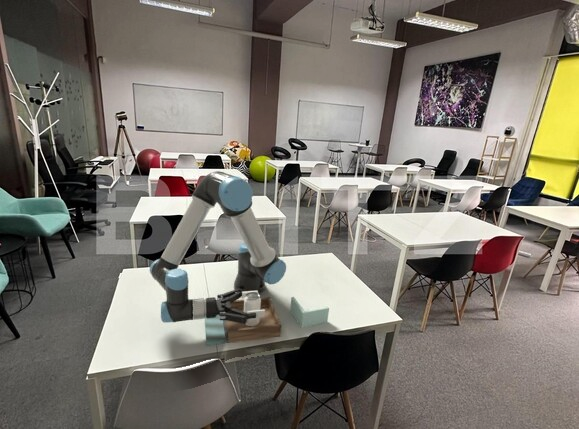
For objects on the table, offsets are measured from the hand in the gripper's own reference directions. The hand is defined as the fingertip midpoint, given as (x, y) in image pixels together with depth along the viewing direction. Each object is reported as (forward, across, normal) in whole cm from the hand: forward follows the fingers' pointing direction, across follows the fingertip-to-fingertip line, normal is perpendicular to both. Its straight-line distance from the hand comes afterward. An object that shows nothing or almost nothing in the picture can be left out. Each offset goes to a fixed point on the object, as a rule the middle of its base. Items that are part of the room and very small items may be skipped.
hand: (260, 302), depth 126 cm
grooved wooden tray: (-7, -2, -10) cm, 13 cm away
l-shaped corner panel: (+22, -2, -11) cm, 25 cm away
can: (-3, 0, -9) cm, 9 cm away
